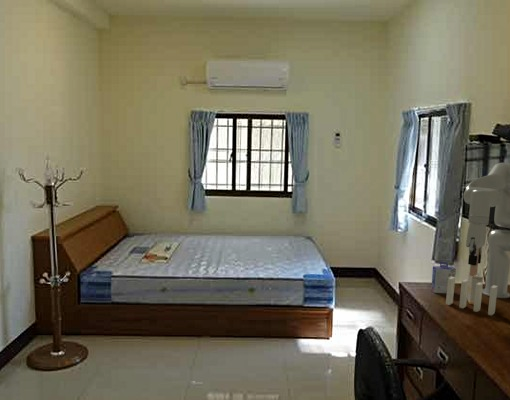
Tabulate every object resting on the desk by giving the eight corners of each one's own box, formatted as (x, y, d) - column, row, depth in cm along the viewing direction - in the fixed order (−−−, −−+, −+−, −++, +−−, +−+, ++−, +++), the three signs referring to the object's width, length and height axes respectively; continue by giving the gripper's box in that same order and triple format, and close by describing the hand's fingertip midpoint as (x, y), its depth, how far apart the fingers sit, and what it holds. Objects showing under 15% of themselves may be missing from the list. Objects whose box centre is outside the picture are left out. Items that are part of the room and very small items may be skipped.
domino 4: (476, 308, 228) (479, 282, 227) (480, 309, 227) (482, 282, 226) (473, 310, 225) (475, 284, 223) (477, 311, 224) (479, 284, 222)
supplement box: (480, 305, 233) (483, 277, 231) (469, 304, 234) (472, 276, 232) (476, 299, 241) (479, 272, 239) (465, 298, 242) (468, 271, 240)
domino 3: (472, 273, 215) (475, 245, 214) (476, 274, 214) (479, 246, 213) (469, 275, 212) (472, 246, 211) (473, 276, 211) (476, 247, 210)
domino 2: (462, 305, 232) (465, 279, 230) (466, 306, 231) (468, 280, 229) (459, 307, 228) (461, 281, 227) (462, 308, 227) (465, 281, 226)
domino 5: (490, 312, 224) (493, 285, 223) (494, 313, 223) (497, 286, 222) (487, 314, 221) (490, 287, 219) (491, 315, 220) (494, 288, 218)
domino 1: (449, 302, 236) (451, 276, 234) (452, 303, 235) (455, 277, 233) (445, 304, 232) (448, 278, 231) (449, 305, 231) (451, 279, 230)
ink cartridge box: (450, 290, 254) (453, 261, 252) (454, 294, 249) (457, 264, 247) (430, 289, 254) (432, 260, 252) (433, 293, 249) (436, 263, 247)
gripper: (475, 216, 219) (471, 258, 221) (462, 220, 206) (457, 265, 209) (494, 219, 214) (489, 262, 217) (481, 223, 201) (477, 269, 204)
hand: (474, 263), depth 213 cm, fingers closed on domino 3, 4 cm apart
